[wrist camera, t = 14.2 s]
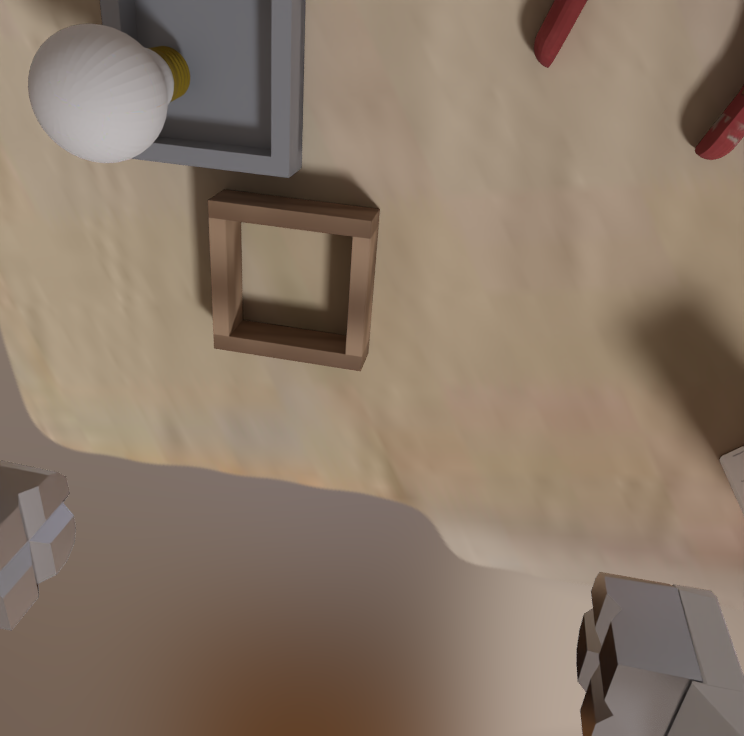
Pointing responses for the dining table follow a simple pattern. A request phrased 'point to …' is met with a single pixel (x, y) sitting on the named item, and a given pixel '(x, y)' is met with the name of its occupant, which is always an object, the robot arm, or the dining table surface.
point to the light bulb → (104, 91)
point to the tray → (226, 80)
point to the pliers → (568, 4)
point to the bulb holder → (227, 277)
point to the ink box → (735, 473)
